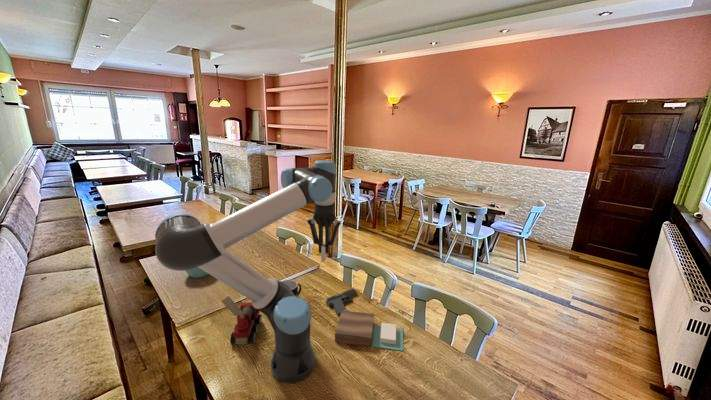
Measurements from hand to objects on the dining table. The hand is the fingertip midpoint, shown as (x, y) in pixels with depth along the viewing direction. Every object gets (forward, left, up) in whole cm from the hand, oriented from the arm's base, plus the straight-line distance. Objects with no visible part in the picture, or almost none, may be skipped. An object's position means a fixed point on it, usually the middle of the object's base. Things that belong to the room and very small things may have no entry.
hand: (323, 260), depth 112 cm
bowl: (+26, +74, -30) cm, 84 cm away
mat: (-3, -27, -29) cm, 40 cm away
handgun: (+16, -7, -30) cm, 35 cm away
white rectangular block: (-2, -27, -27) cm, 39 cm away
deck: (-2, -14, -29) cm, 33 cm away
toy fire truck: (-11, +30, -30) cm, 43 cm away
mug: (+11, +18, -30) cm, 36 cm away
